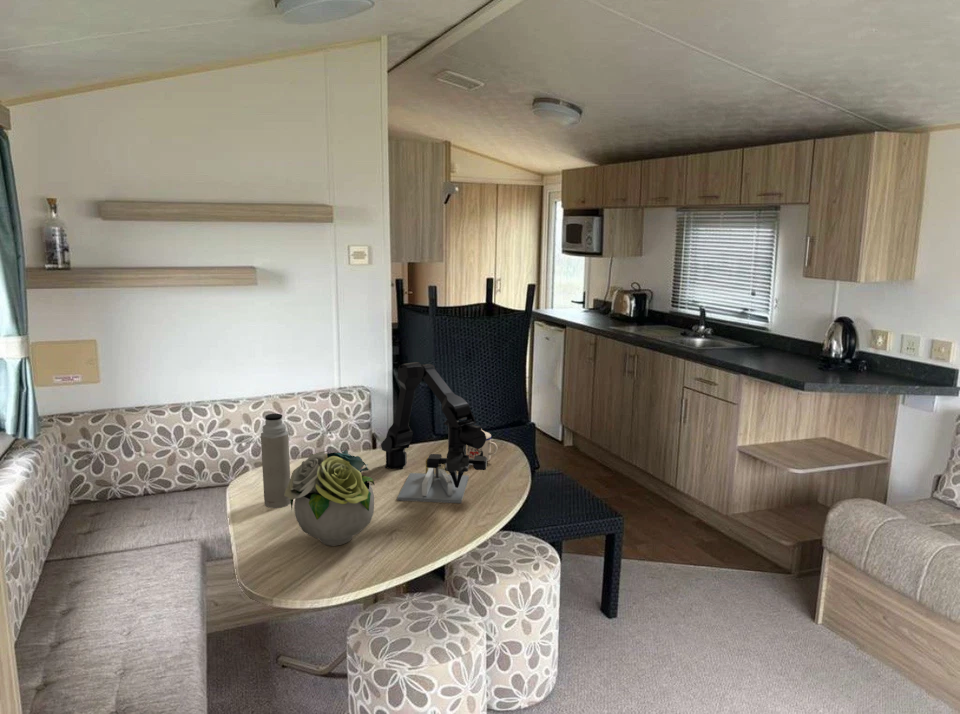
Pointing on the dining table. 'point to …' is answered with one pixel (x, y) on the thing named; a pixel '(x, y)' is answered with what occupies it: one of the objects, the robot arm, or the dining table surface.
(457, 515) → the dining table surface
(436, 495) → the tongs base
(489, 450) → the teacup with lid
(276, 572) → the dining table surface
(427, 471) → the lock collar
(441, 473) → the tong arm
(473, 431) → the robot arm
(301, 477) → the flower arrangement
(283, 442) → the thermos bottle
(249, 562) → the dining table surface
